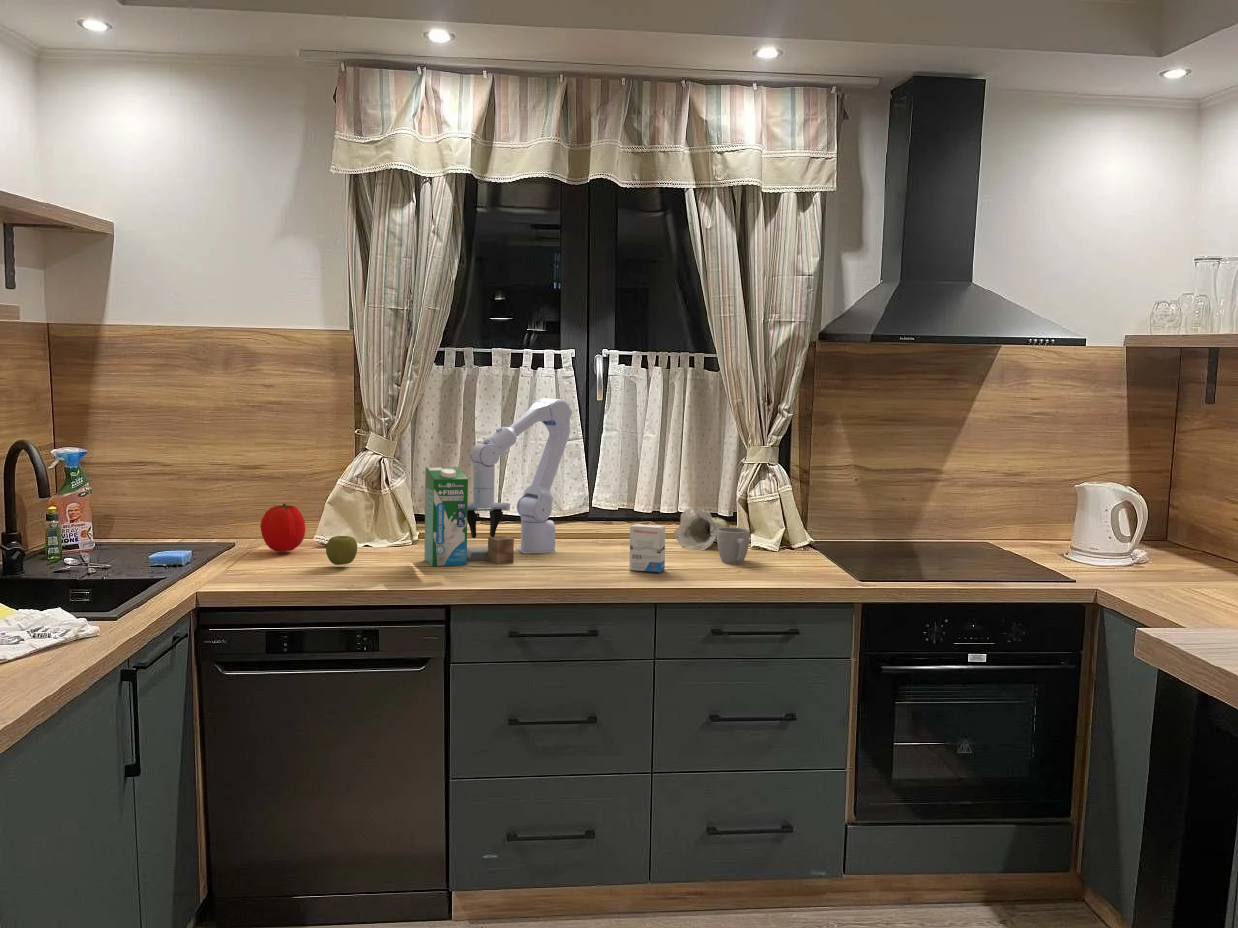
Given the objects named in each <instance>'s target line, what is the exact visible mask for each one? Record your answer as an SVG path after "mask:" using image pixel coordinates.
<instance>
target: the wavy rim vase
mask: <svg viewBox="0 0 1238 928" xmlns="http://www.w3.org/2000/svg"><path fill="white" fill-rule="evenodd" d="M724 527H731V526H730V524H729V523H728V522H727V521H726V520H725V519H723V518H721V517H712V514H711V513H710V512H709V511H706V510H705V509H703V508H700V507H699V509H697V510H695V508H694V507H691V508H687V509H685V510H683V512H681V514H680V523H679V526H678V527H677V528H676V529H675V530H674V531H673V534H674V536H675V539H676V542H677V543H678V544H679V546H680V547H681V548H684V549H691V550H701V551H705V550H707V549H708V548H709V547H711V545H712V544H713V542H717V530H718V528H724Z"/></svg>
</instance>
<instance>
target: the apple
mask: <svg viewBox="0 0 1238 928" xmlns="http://www.w3.org/2000/svg"><path fill="white" fill-rule="evenodd" d="M357 553H358V543H357V541H356V539H355V538H354V537H352V536H350V535H336V536H332V537H331V538H329V539H328V541H327V543H326V547H325V554H326V556H327V558H328V560H329V561H330V563H331V564H333V565H335V566H337V565H338V566H340V565H348V564H351V563H352V562H353V561H354V560H355V558H356V556H357Z"/></svg>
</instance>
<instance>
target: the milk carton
mask: <svg viewBox="0 0 1238 928" xmlns="http://www.w3.org/2000/svg"><path fill="white" fill-rule="evenodd" d="M424 473H425V475H424V476H425V480H424V482H425V485H424V486H425V489H424V491H425V492H424V493H425V494H424V559H423V560H424V561H425V562H426V563H428V565H430V566H432V567H433V568H434V567H449V566H464V565H467V564H468V561H467V559H468V558H467V547H468V521H467V509H468V503H469V501H468V499H469V498H468V497H469V495H468V493H469V487H468V486H469V479H468V477H467V476H466V474H464V472H463V471H462V469H460V467H458V466H456V467H455V466H452V467H451V466H450V467H449V466H447V467H446V466H444V467H441V466H440V467H439V466H437V467H436V466H434V467H433V466H431V467H425V471H424Z"/></svg>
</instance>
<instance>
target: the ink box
mask: <svg viewBox="0 0 1238 928" xmlns="http://www.w3.org/2000/svg"><path fill="white" fill-rule="evenodd" d="M665 558H666V526H665V525H651V524H643V523H641V524H639V523H635V524H632V525H630V527H629V571H637V572H648V573H649V572H651V573H662V572H663V571H665V567H666V566H665V563H666V561H665Z"/></svg>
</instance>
